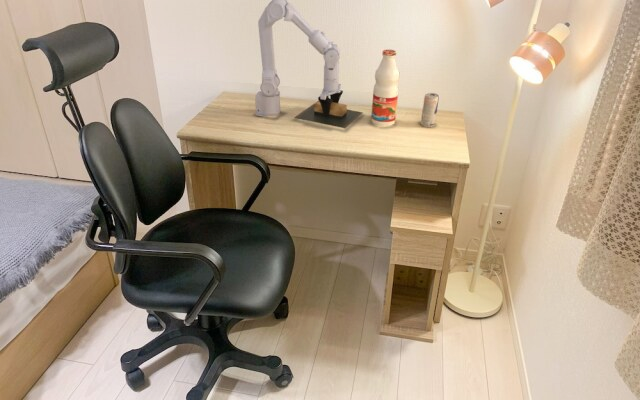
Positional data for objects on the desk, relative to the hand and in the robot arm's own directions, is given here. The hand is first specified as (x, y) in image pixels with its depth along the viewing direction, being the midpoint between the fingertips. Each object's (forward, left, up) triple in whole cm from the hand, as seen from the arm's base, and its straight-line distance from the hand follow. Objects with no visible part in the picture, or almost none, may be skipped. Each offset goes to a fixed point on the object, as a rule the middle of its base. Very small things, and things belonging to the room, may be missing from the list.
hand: (330, 111), depth 191 cm
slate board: (0, -1, -2) cm, 3 cm away
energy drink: (+37, +11, -3) cm, 39 cm away
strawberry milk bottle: (+21, +4, -3) cm, 22 cm away
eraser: (0, 0, -1) cm, 1 cm away
